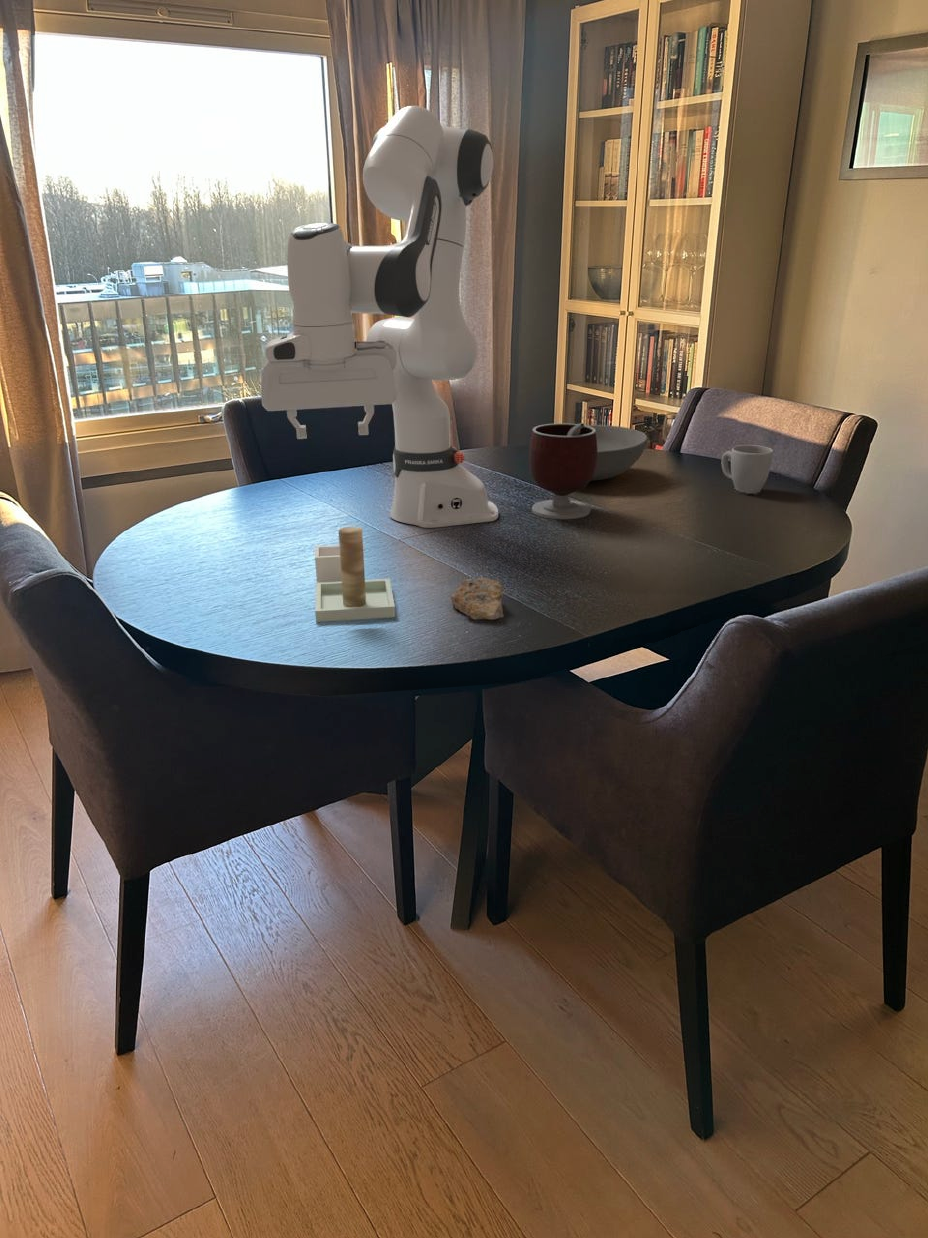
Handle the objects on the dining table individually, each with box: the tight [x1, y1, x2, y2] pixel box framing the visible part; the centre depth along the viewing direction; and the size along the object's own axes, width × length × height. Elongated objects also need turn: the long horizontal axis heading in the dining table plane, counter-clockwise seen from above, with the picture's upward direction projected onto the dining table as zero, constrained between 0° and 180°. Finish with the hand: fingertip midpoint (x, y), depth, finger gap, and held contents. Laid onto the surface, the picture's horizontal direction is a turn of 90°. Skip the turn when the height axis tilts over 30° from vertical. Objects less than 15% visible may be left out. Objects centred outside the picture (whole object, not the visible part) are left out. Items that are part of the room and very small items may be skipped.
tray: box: [314, 578, 396, 623], centre depth 144 cm, size 12×12×2 cm
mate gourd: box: [528, 422, 597, 520], centre depth 189 cm, size 16×14×20 cm
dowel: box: [338, 526, 366, 607], centre depth 142 cm, size 4×4×12 cm
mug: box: [720, 444, 774, 493], centre depth 205 cm, size 12×9×10 cm
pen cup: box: [314, 544, 342, 583], centre depth 154 cm, size 6×6×6 cm
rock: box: [450, 577, 504, 620], centre depth 143 cm, size 9×6×10 cm
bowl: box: [585, 424, 649, 482], centre depth 217 cm, size 26×26×10 cm
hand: (333, 436), depth 141 cm, fingers open, 8 cm apart
